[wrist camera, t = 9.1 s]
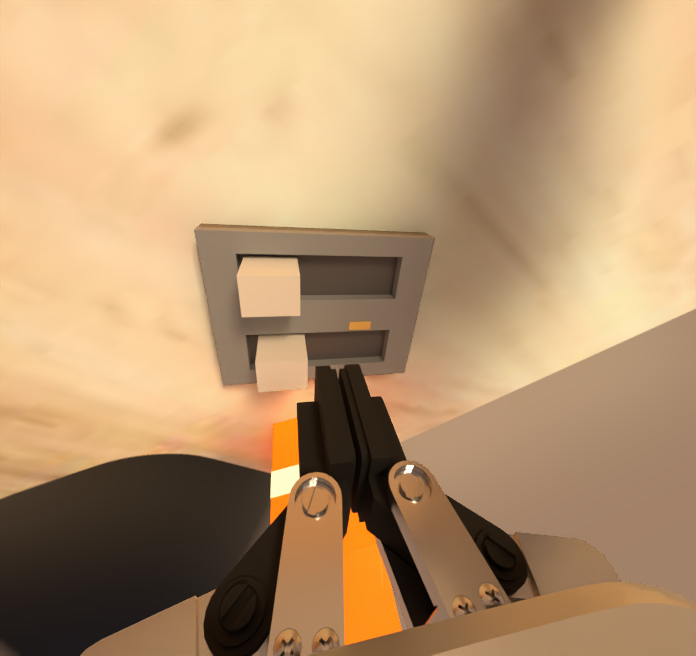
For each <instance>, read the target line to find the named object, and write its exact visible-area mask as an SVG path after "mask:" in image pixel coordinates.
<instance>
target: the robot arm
mask: <svg viewBox="0 0 696 656" xmlns="http://www.w3.org/2000/svg"><path fill="white" fill-rule="evenodd" d="M297 430H298V454H299V477H300V479H298V480H297V481H296V482H295V484H294V485H293V487H292V488H291V491H290V495H289V499H288V505H287V506H286V507H285V508H284V509H283V511H282V512H281V513H280V514H279V515H278V516H277V518H276V519H275V520H274V521H273V522H272V524H271V525H270V526H269V527H268V528H267V529H266V531H265V532H264V533H263V534H262V535H261V537H260V538H259V539H258V540H257V541H256V542H255V544H254V545H253V546H252V547H251V548H250V550H249V551H248V552H247V553H246V554H245V555H244V556H243V558H242V559H241V560H240V561H239V562H238V563H237V565H236V566H235V567H234V568H233V570H232V571H231V572H230V573H229V574H228V575H227V576H226V578H225V579H224V580H223V581H222V582H221V583H220V585H219V586H218V588H217V589H215V590H213V591H211V592H209V593H207V594H205V595H203V596H201V597H199V598H197V597H196V596H194V597H191V598H189V599H187V600H185V601H183V602H181V603H179V604H177V605H174V606H172V607H170V608H168V609H166V610H164V611H162V612H159V613H157V614H155V615H153V616H151V617H149V618H147V619H145V620H142V621H140V622H138V623H136V624H134V625H132V626H130V627H128V628H126V629H123V630H121V631H119V632H117V633H115V634H113V635H110V636H108V637H106V638H104V639H102V640H100V641H99V642H97V643H95V644H94V645H93V646H91V647H89V648H88V649H86V650H85V651H84V652H83V653H82V654H81V655H80V656H696V602H695V601H693V600H691V599H688V598H686V597H684V596H681V595H679V594H677V593H675V592H671V591H669V590H666V589H662V588H659V587H656V586H652V585H647V584H642V583H635V582H621V580H620V578H619V577H618V575H617V573H616V572H615V570H614V568H613V567H612V565H611V564H610V563H609V561H608V560H607V559H606V557H605V556H604V555H603V554H602V553H601V552H600V551H599V550H598V549H597V548H595V547H594V546H592V545H591V544H589V543H587V542H586V541H583V540H580V539H577V538H568V537H559V536H549V535H539V534H530V533H520V532H515V534H514V535H511V534H507V533H505V532H504V531H503V530H501V529H500V528H498V527H497V526H495V525H493V524H492V523H490V522H488V521H487V520H485V519H484V518H482V517H481V516H479V515H477V514H476V513H474V512H473V511H471V510H469V509H468V508H466V507H465V506H463V505H461V504H460V503H458V502H457V501H455V500H453V499H452V498H450V497H449V496H447V495H445V494H444V492H443V490H442V489H441V487H440V485H439V484H438V482H437V481H436V479H435V478H434V476H433V475H432V473H431V472H430V471H429V470H428V469H427V468H426V467H424V466H423V465H422V464H419V463H417V462H415V461H408V460H406V457H405V455H404V452H403V450H402V447H401V445H400V442H399V439H398V437H397V434H396V432H395V429H394V427H393V424H392V422H391V419H390V416H389V414H388V411H387V409H386V406H385V404H384V401H383V399H382V398H381V397H380V396H378V397H371V396H370V393H369V390H368V387H367V385H366V382H365V379H364V376H363V373H362V370H361V367H360V365H359V364H347V365H344V368H342V369H339V377H338V376H337V372H336V369H331V367H330V365H328V366H316V367H315V397H314V402H302V403H297ZM350 510H352V513H358V518H359V523H360V522H365V525H366V529H367V531H369V532H370V533H371V534H373V535H374V536H375V541H376V544H377V547H378V550H379V553H380V555H381V558H382V561H383V563H384V566H385V569H386V572H387V574H388V577H389V580H390V583H391V585H392V588H393V591H394V594H395V596H396V599H397V602H398V605H399V607H400V610H401V613H402V616H403V618H404V621H405V624H406V626H407V630H403V631H399V632H395V633H391V634H387V635H383V636H379V637H376V638H372V639H368V640H364V641H360V642H356V643H352V644H348V645H345V633H344V578H343V539H344V537H345V535H346V534H347V528H348V522H349V516H350Z"/></svg>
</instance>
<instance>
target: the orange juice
mask: <svg viewBox="0 0 696 656" xmlns="http://www.w3.org/2000/svg"><path fill="white" fill-rule="evenodd" d="M298 479H300V477H299V454H298V430H297V418H295V419H291V420H287V421H283V422H279V423H275V424H273V452H272V472H271V497H270V498H271V516H270V525H271V524H272V522H273V521H274V520H275V519H276V518H277V516H278V515H279V514H280V513H281V512H282V511H283V509H284V508H285V507H286V506H287V505H288V499H289V495H290V491H291V488H292V487H293V485H294V484H295V482H296V481H297V480H298ZM343 578H344V633H345V645H348V644H352V643H356V642H360V641H364V640H368V639H372V638H376V637H379V636H383V635H387V634H391V633H395V632H399V631H402V629H401V625H400V621H399V617H398V613H397V608H396V604H395V600H394V596H393V592H392V588H391V583H390V580H389V577H388V574H387V572H386V569H385V566H384V563H383V561H382V558H381V555H380V553H379V550H378V547H377V544H376V541H375V536H374V535H373V534H371V533H370V532H369V531H367V529H366V525H365V522H360V523H359V518H358V513H352V510H350V516H349V522H348V528H347V534H346V535H345V537H344V539H343Z"/></svg>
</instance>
